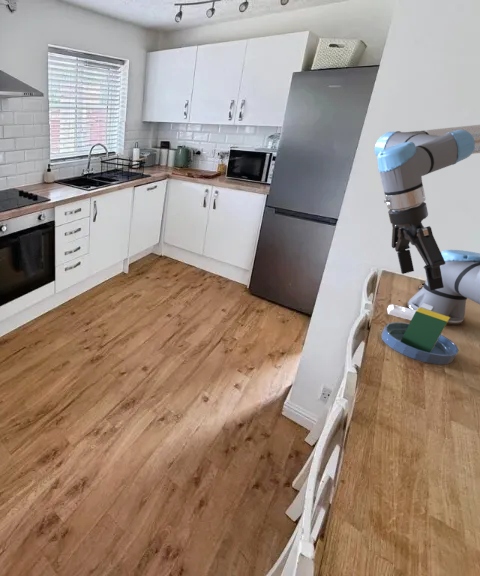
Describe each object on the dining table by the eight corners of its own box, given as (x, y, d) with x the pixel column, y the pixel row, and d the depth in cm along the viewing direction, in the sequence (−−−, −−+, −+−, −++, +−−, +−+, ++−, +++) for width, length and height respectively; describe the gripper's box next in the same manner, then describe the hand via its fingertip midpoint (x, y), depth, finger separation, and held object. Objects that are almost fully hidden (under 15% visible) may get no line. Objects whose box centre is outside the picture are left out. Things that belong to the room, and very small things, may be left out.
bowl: (389, 325, 120) (394, 316, 118) (457, 351, 109) (463, 341, 107) (373, 343, 110) (377, 334, 108) (445, 373, 99) (451, 363, 97)
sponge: (403, 338, 113) (419, 307, 108) (432, 349, 108) (450, 317, 103) (399, 343, 110) (415, 311, 105) (428, 354, 105) (447, 322, 100)
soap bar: (420, 324, 122) (423, 317, 121) (387, 315, 126) (390, 308, 125) (418, 317, 126) (422, 311, 125) (387, 309, 130) (390, 303, 129)
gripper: (368, 204, 107) (383, 270, 112) (415, 219, 84) (431, 301, 89) (398, 194, 104) (412, 262, 109) (455, 207, 82) (470, 292, 87)
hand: (421, 280), depth 99 cm, fingers open, 13 cm apart
